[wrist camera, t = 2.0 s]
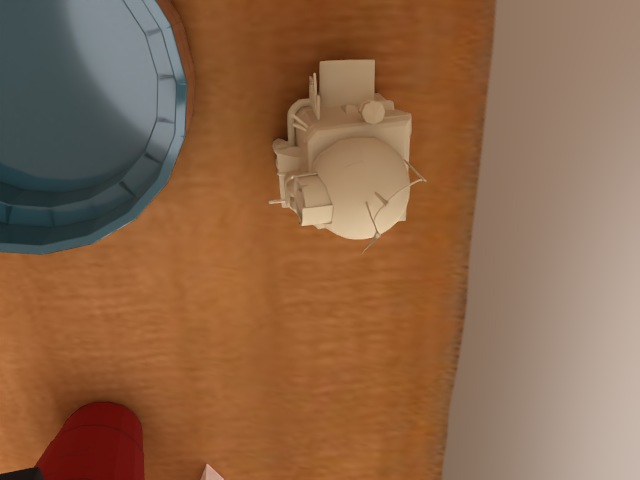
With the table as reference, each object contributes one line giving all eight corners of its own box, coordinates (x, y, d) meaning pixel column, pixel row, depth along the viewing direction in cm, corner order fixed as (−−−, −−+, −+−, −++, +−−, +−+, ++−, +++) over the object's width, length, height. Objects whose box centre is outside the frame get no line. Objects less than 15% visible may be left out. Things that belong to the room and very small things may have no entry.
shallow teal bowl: (67, -171, 30) (29, -205, 25) (249, 129, 37) (250, 154, 32) (-208, 9, 32) (-301, 14, 26) (19, 262, 39) (-17, 306, 34)
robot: (253, 61, 36) (261, 107, 22) (381, 51, 37) (464, 90, 23) (269, 216, 40) (283, 335, 26) (383, 205, 41) (454, 314, 27)
